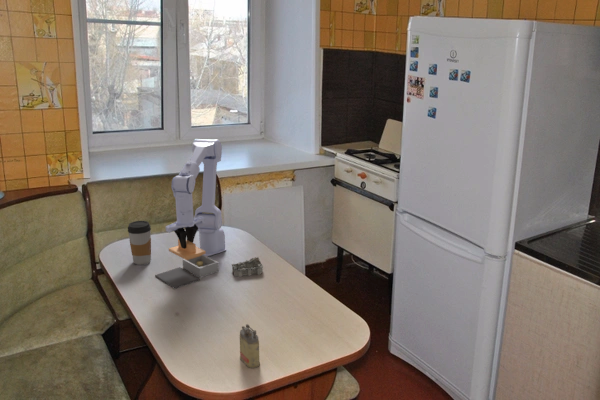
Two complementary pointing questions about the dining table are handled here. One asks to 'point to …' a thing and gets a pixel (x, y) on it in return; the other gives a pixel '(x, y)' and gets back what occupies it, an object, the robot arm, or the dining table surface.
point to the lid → (187, 250)
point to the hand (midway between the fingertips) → (186, 246)
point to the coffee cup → (140, 241)
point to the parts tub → (201, 266)
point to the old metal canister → (249, 347)
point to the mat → (177, 277)
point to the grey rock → (247, 267)
